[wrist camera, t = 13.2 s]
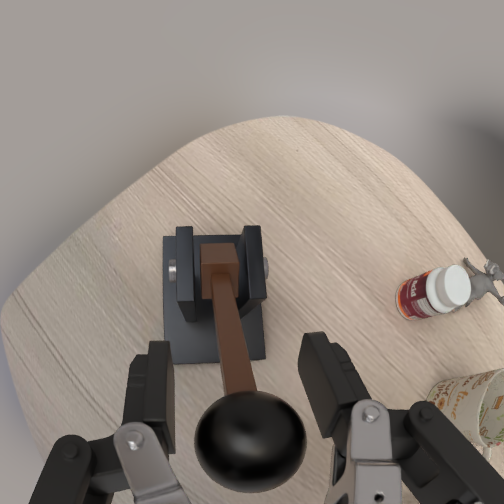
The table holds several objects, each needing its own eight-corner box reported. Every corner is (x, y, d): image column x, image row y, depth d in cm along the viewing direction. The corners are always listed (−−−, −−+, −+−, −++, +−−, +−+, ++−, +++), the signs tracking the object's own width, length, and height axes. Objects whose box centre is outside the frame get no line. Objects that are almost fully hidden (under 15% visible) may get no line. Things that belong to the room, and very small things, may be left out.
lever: (308, 497, 8) (333, 451, 7) (203, 510, 8) (193, 470, 6) (242, 282, 22) (245, 233, 20) (190, 284, 21) (188, 234, 20)
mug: (458, 360, 32) (517, 354, 23) (469, 442, 29) (523, 450, 19) (411, 387, 30) (474, 391, 21) (425, 473, 27) (479, 493, 17)
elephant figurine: (427, 264, 35) (476, 235, 35) (427, 294, 39) (473, 267, 38) (472, 317, 27) (524, 280, 26) (465, 346, 31) (514, 311, 30)
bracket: (263, 358, 29) (307, 362, 17) (167, 363, 27) (143, 372, 15) (253, 238, 32) (285, 171, 20) (164, 240, 31) (146, 171, 19)
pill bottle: (406, 272, 34) (452, 250, 26) (430, 298, 34) (478, 282, 26) (387, 302, 33) (435, 286, 25) (413, 329, 32) (463, 319, 24)
